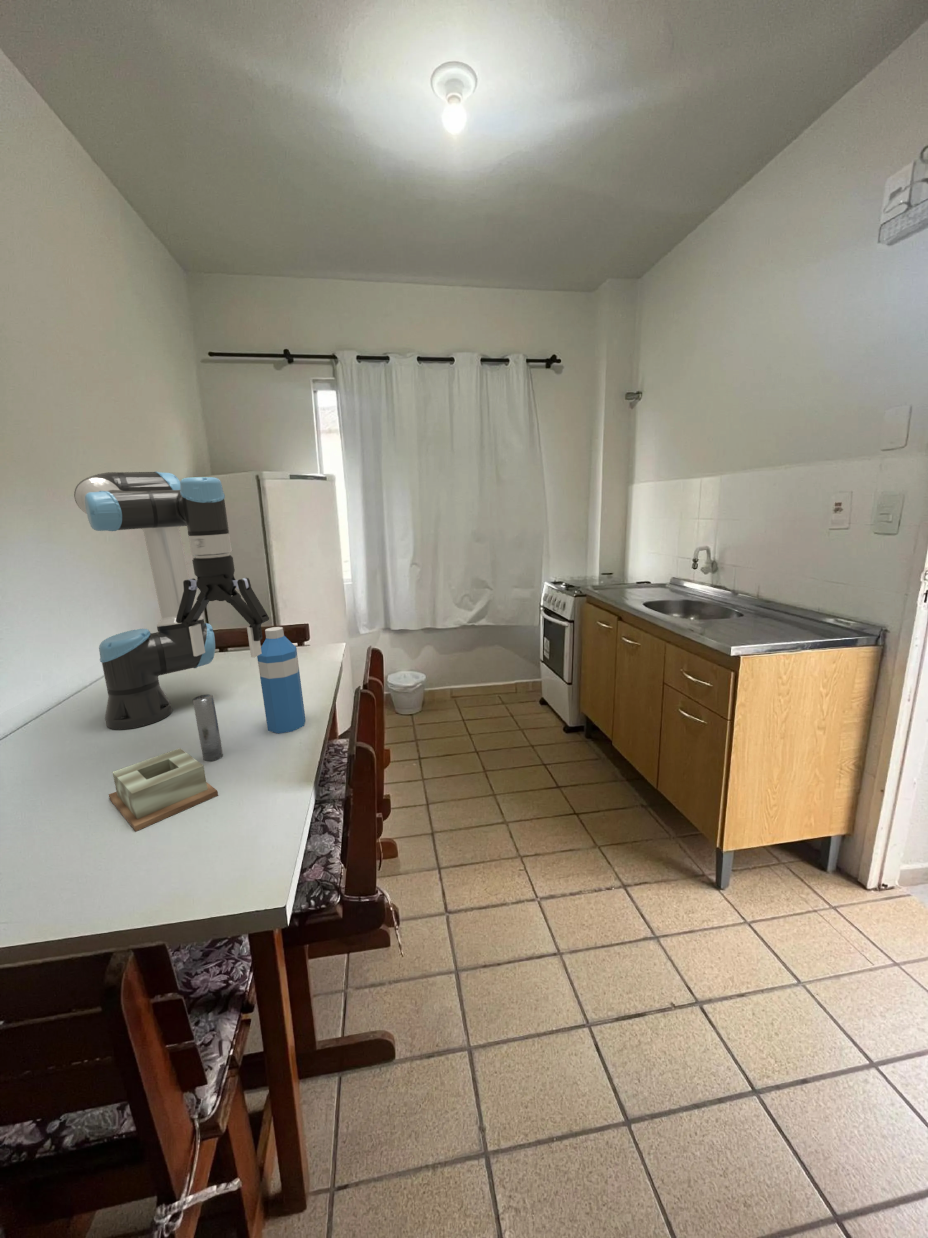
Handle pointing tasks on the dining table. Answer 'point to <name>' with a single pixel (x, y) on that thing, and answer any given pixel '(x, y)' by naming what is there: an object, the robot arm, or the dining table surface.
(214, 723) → the peg
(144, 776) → the socket
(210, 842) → the dining table surface
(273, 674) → the water bottle
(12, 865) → the dining table surface
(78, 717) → the dining table surface
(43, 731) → the dining table surface
